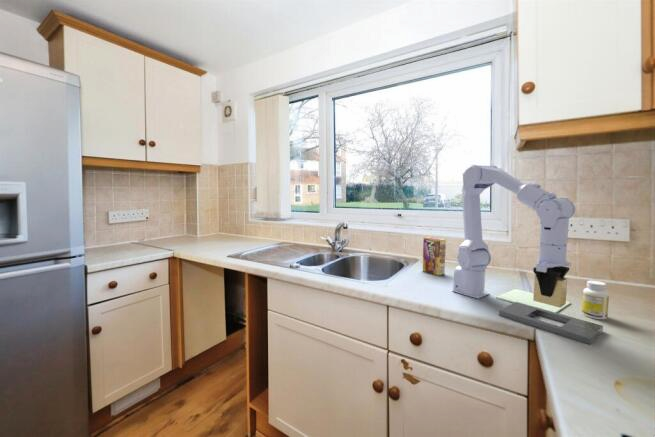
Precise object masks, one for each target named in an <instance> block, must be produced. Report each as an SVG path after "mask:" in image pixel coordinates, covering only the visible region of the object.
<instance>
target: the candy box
mask: <svg viewBox="0 0 655 437" xmlns="http://www.w3.org/2000/svg"><path fill="white" fill-rule="evenodd" d="M422 241H423V243H422V244H423V246H422V247H423V250H422V252H423V253H422V271H423V272H425V271H426V273H428V272H429V274H432V273H433V274H432V275H436V276H441V275H442V274H443V275H445V270H446V268H445V267H446V245H447V239H444V238H439V237H438V238H437V237H432V236H431V237H430V236H424V237H423V240H422Z"/></svg>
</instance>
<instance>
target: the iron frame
mask: <svg viewBox="0 0 655 437" xmlns="http://www.w3.org/2000/svg"><path fill="white" fill-rule="evenodd" d="M498 311H499V312H498V316H500V317H503V318H506V319H510V320H512V321H515V322H518V323H522V324H525V325H528V326H531V327H534V328H537V329H541V330H543V331H546V332H549V333H552V334H555V335H559V336H561V337H565V338H569V339H570V340H573V341H574V340H575V341H578V342H580V343H583V344H586V345H589V346H590V345H591V344H592V343H593V342H594V341H595V340H596V339H598V337H599V336H600V335H602V333H603V332H604V325H603V324H598V323H594V322H591V321H589V320H587V321H586V320H583V319H580V318H576V317H572V316H569V315H565V314H562V313H559V312H557V313H555V312H551V311H548V310H544V309H541V308H537V307H533V306H530V305H526V304H522V303H519V302H515V303H510V304H509V305H507V306H505V307H502V308H501V309H499V310H498ZM536 315H537V316H540V317H544V318H546V319H551V320H554V321H558V322H560V323H563V325H560V326H559V325H556V324H553V323H549V322H547V321H544V320H540V319H536V318H533V317H535V316H536Z"/></svg>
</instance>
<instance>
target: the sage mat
mask: <svg viewBox="0 0 655 437" xmlns="http://www.w3.org/2000/svg"><path fill="white" fill-rule="evenodd" d="M533 297H534V292H530V291H525V290H521V289H518V288H517V289H516V288H514V289H512V290H511V289H510V291H509V290H508V291H507V292H504V293H502V294H501V295H498V296H496V299H498V300H502V301H505V302H509V303H511V304H513V303H515V302H519V303H522V304H526V305H530V306H533V307H537V308H541V309H544V310H548V311H551V312H555V313H559V312H560V311H561V310H563V309H564V308H567V307H568V306H570V305H571V304H572V303H571V302H570V301H567V300H566V304H565V305H564V306H562V307H560V308H559V307H556V306H552V305H548V304H544V303H540V302H537V301H533Z"/></svg>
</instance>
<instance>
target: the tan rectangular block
mask: <svg viewBox="0 0 655 437" xmlns="http://www.w3.org/2000/svg"><path fill="white" fill-rule="evenodd" d="M568 279H569V278H567V277H564V278H563V277H558V279H557V280H556V283H555V286H554V290H553V294H552V296H551V297H548V296H543V295H541V292H540V287H539V282H538V279H537V277H536V275H535V274H534V283H533V284H534V286H533V293H534V297H533V301H537V302H540V303H544V304H548V305H552V306H556V307H559V308H560V307H562V306H564V305H565V304H566V301H567V292H568V290H567V289H568Z"/></svg>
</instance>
